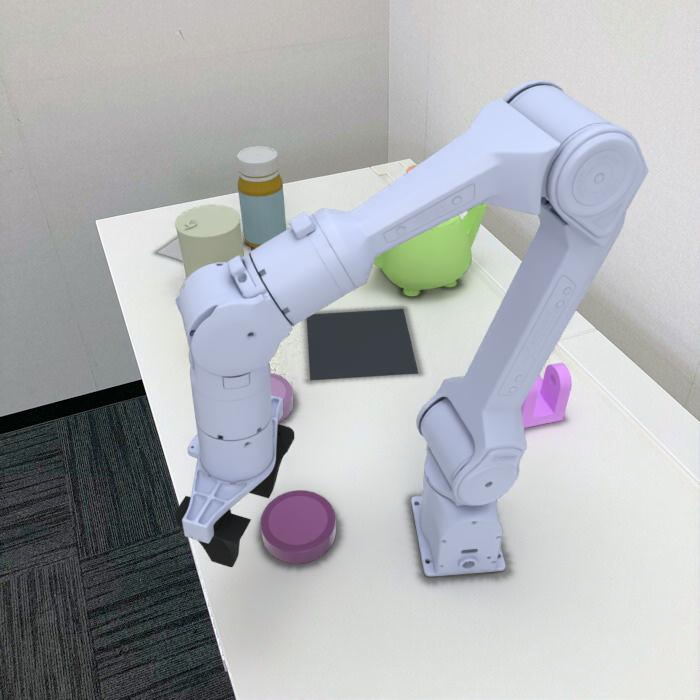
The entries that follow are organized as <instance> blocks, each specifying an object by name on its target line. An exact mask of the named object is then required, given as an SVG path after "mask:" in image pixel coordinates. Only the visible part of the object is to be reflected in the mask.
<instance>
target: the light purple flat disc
mask: <svg viewBox="0 0 700 700" xmlns="http://www.w3.org/2000/svg"><path fill="white" fill-rule="evenodd" d="M293 392H294V391H293V387H292V384H291V383H290V382H289V381H288V380H287V379H286V378H285V377H284V376H281V375H279V374H277V373H272V372H271V396H275V397H278V398H282V399H283V415H282V417H281V419H280V420H279V421H278V424H280V423H281V422H283V421H284V420H286V418H288V417H289V416H290V414H291V413H292V411H293V409H294V393H293Z"/></svg>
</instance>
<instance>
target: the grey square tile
mask: <svg viewBox="0 0 700 700" xmlns="http://www.w3.org/2000/svg"><path fill="white" fill-rule="evenodd" d="M157 253H158V254H160V255H164V256H166V257H169V258H172V259H175V260H178V261H181V262H183V259H182V254H181V249H180V244H179V239H178V237H177V238H176V239H174V240H173V241H171V242H170V243H168V244H167V245H166V246H164V247H162V248H161V249H160V250H158V251H157Z"/></svg>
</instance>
